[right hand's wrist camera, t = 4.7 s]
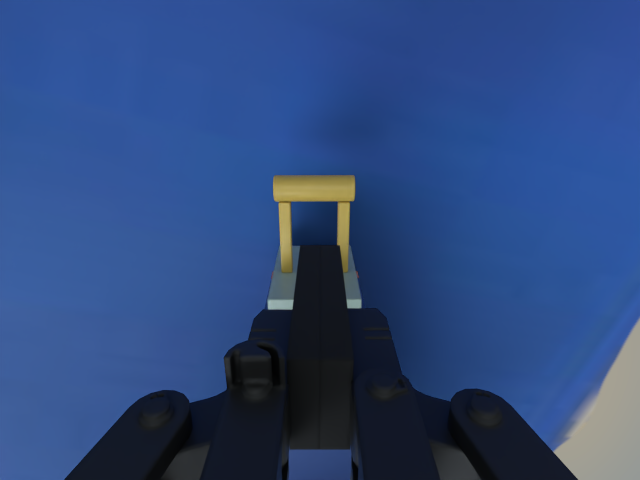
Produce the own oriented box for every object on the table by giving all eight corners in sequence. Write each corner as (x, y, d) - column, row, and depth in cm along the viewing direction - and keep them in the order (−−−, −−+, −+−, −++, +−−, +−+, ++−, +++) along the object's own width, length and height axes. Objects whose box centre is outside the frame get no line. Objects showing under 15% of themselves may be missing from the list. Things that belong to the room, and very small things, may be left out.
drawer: (275, 161, 23) (260, 191, 17) (353, 161, 23) (366, 191, 17) (287, 453, 32) (281, 543, 25) (343, 452, 32) (350, 542, 25)
